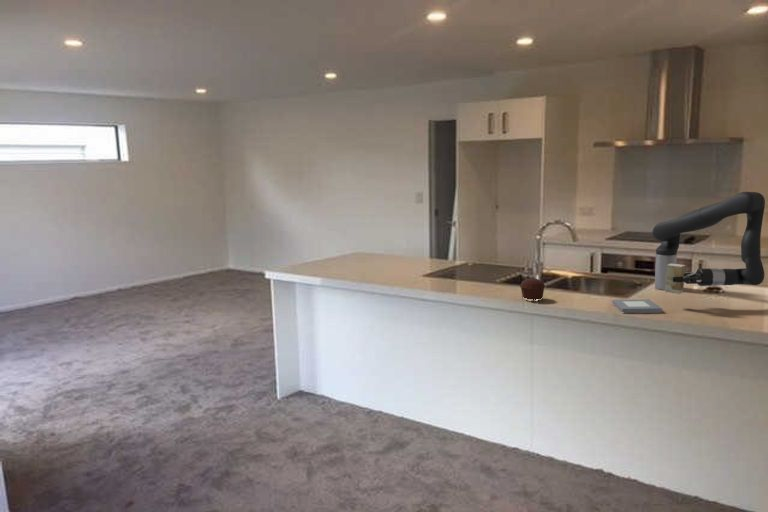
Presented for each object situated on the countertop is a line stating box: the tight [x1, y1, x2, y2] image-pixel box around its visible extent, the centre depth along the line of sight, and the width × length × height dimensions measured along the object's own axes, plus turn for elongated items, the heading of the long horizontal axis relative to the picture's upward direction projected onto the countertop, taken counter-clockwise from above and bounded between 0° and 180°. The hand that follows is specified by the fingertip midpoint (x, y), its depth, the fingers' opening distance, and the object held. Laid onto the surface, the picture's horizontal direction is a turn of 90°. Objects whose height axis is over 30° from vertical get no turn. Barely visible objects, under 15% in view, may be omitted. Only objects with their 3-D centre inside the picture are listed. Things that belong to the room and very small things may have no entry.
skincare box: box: [664, 263, 686, 295], centre depth 251 cm, size 6×4×12 cm
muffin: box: [519, 277, 546, 300], centre depth 276 cm, size 12×11×10 cm
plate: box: [611, 298, 663, 314], centre depth 254 cm, size 16×16×2 cm
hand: (669, 277), depth 251 cm, fingers closed on skincare box, 7 cm apart
